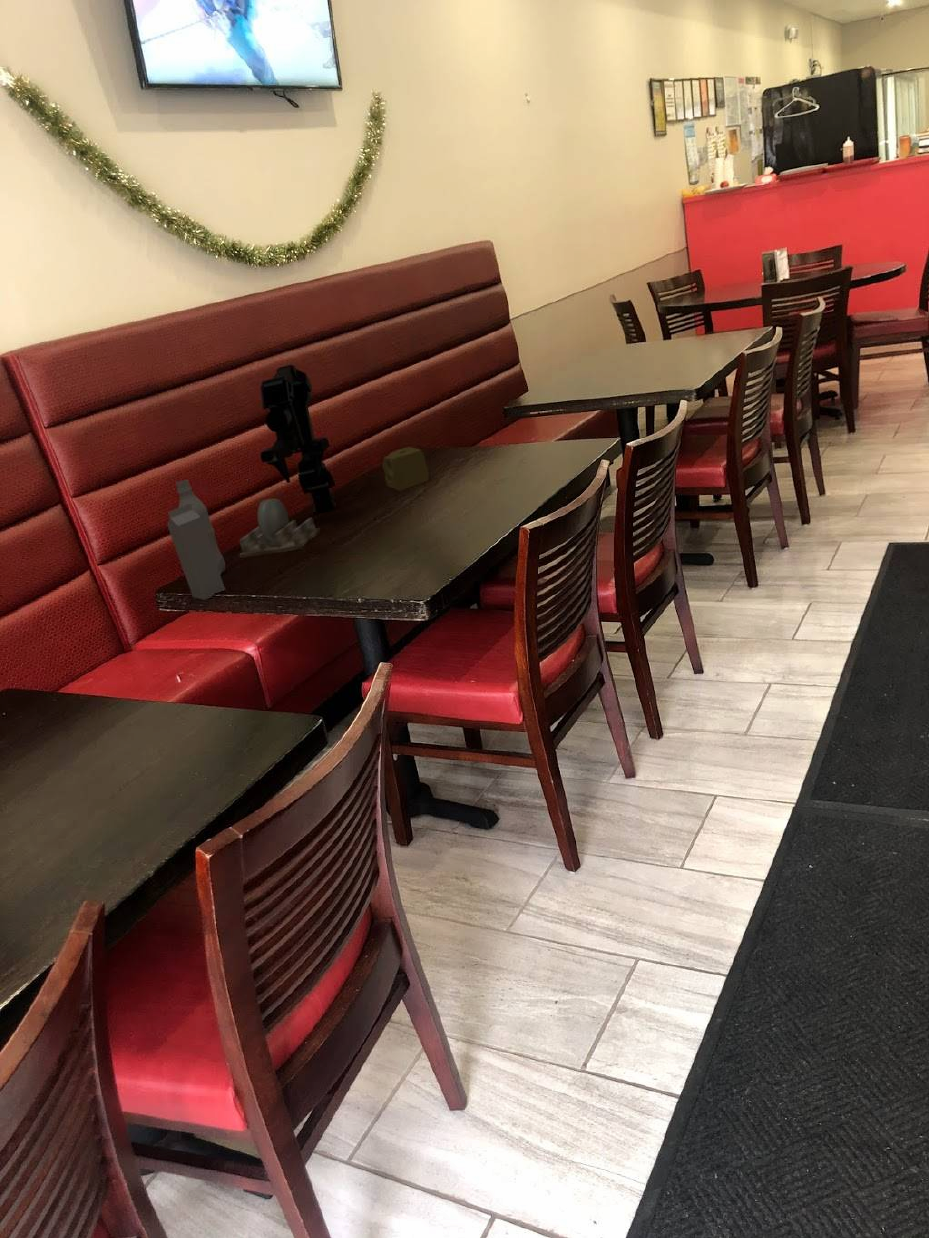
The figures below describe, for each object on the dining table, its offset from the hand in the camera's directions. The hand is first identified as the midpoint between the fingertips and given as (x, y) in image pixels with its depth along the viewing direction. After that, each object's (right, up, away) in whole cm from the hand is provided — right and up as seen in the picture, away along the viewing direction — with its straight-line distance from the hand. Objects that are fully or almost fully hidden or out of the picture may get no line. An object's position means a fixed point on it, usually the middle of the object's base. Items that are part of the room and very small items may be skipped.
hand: (303, 480), depth 273 cm
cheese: (+28, +2, +25) cm, 37 cm away
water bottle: (-20, -27, -19) cm, 39 cm away
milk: (-17, -32, -34) cm, 50 cm away
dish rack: (-5, -18, -7) cm, 20 cm away
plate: (-5, -17, -7) cm, 19 cm away
